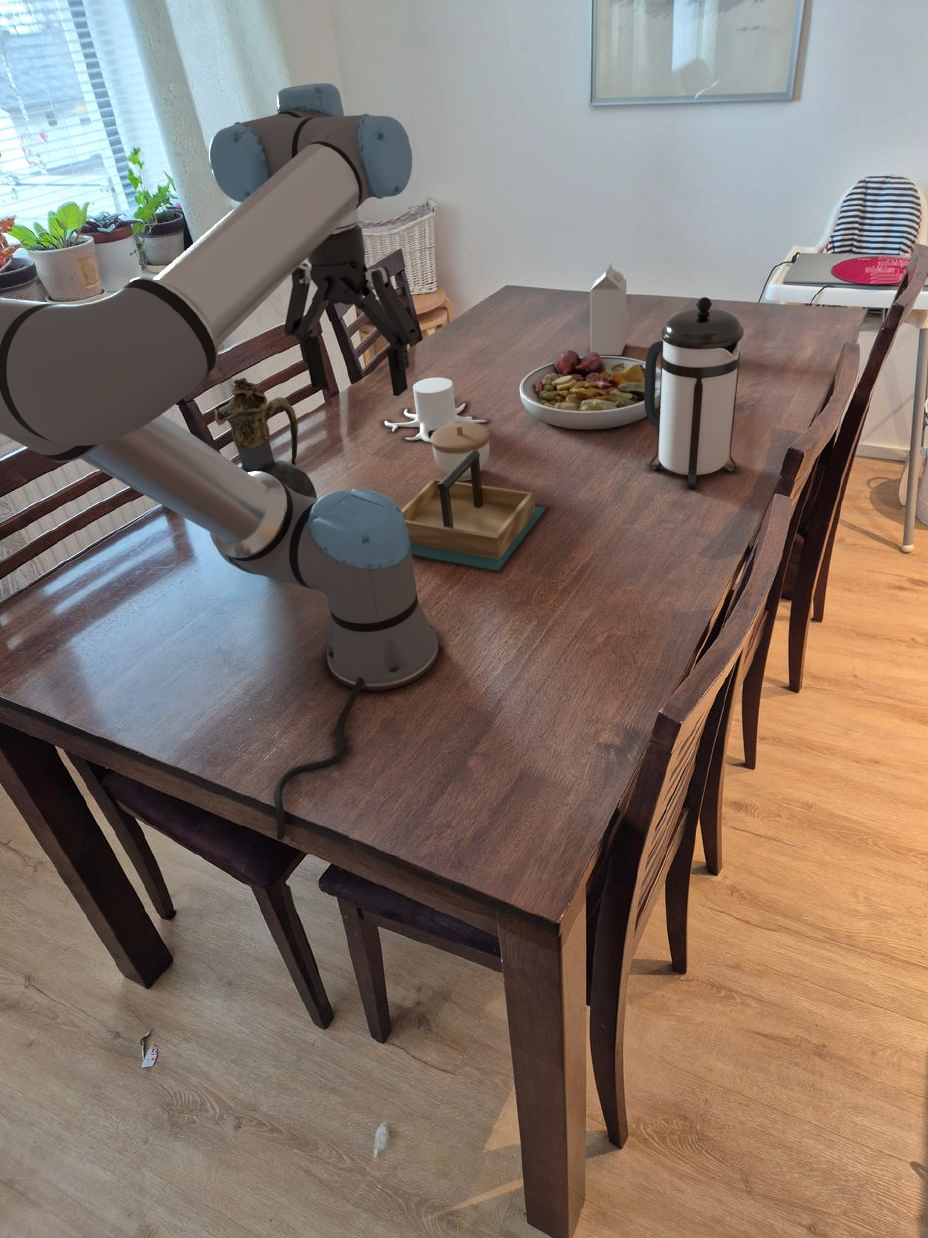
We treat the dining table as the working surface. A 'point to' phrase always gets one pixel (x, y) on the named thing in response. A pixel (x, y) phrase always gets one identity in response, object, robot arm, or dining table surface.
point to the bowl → (588, 391)
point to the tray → (467, 514)
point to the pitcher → (261, 435)
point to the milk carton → (608, 313)
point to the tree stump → (433, 408)
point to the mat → (472, 559)
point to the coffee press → (695, 390)
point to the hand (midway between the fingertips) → (359, 387)
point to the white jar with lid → (460, 446)
